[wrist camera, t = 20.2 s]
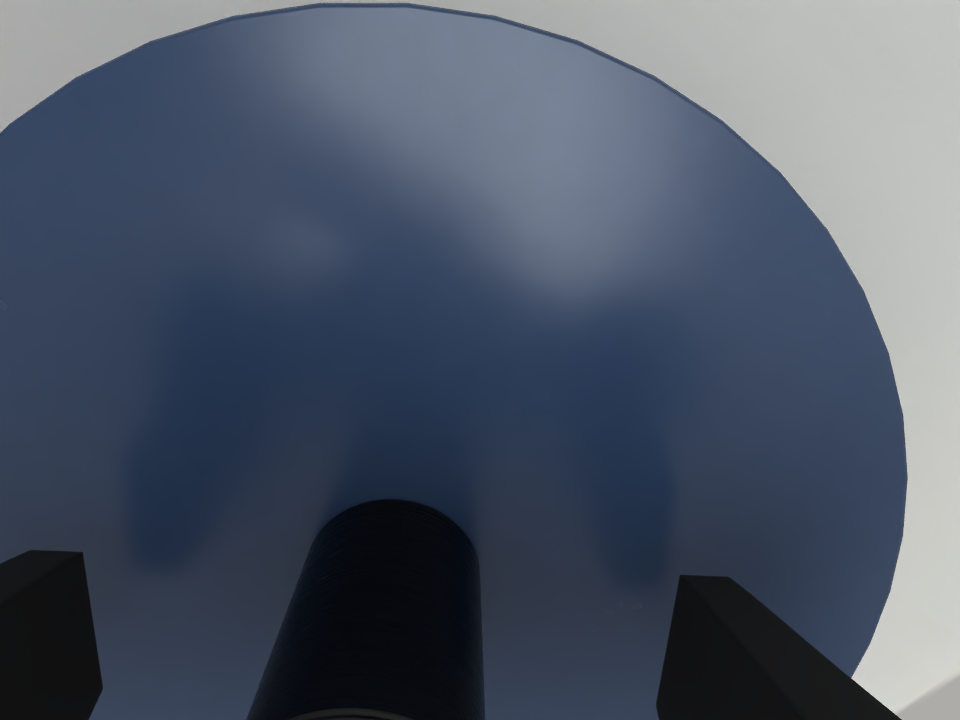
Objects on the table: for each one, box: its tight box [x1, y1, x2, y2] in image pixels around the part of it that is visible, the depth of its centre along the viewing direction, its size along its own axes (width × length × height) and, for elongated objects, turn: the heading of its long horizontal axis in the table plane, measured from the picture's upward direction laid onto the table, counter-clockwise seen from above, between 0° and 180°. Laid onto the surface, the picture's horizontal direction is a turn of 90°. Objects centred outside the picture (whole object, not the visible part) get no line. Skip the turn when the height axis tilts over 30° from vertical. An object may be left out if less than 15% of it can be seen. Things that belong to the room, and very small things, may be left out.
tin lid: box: [0, 3, 907, 720], centre depth 8 cm, size 14×14×5 cm
